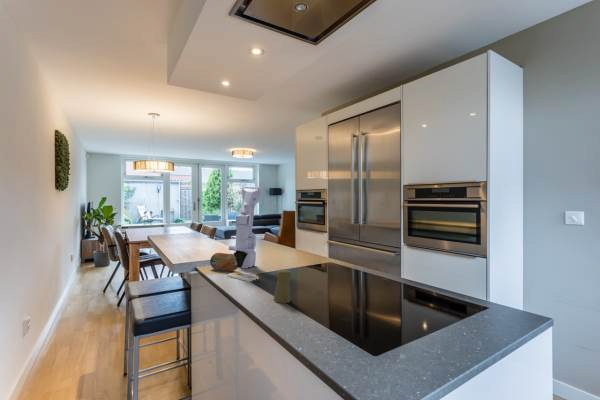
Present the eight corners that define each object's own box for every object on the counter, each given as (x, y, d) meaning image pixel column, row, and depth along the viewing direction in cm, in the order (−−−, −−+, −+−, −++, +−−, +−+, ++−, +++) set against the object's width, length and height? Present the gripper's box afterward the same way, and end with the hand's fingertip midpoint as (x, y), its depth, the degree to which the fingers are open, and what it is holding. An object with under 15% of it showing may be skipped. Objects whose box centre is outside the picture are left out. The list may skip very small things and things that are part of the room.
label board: (236, 274, 143) (237, 271, 143) (258, 279, 136) (258, 276, 136) (227, 276, 137) (227, 273, 137) (249, 281, 131) (249, 278, 131)
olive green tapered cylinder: (291, 298, 111) (293, 269, 111) (289, 304, 105) (291, 272, 105) (275, 297, 112) (277, 267, 112) (272, 302, 106) (274, 271, 106)
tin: (209, 269, 149) (210, 252, 149) (212, 267, 152) (213, 251, 152) (237, 272, 146) (239, 255, 146) (240, 271, 149) (241, 254, 149)
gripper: (225, 237, 146) (222, 265, 146) (248, 241, 139) (246, 270, 138) (234, 236, 152) (232, 263, 152) (257, 240, 145) (255, 268, 145)
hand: (239, 266), depth 145 cm, fingers closed
